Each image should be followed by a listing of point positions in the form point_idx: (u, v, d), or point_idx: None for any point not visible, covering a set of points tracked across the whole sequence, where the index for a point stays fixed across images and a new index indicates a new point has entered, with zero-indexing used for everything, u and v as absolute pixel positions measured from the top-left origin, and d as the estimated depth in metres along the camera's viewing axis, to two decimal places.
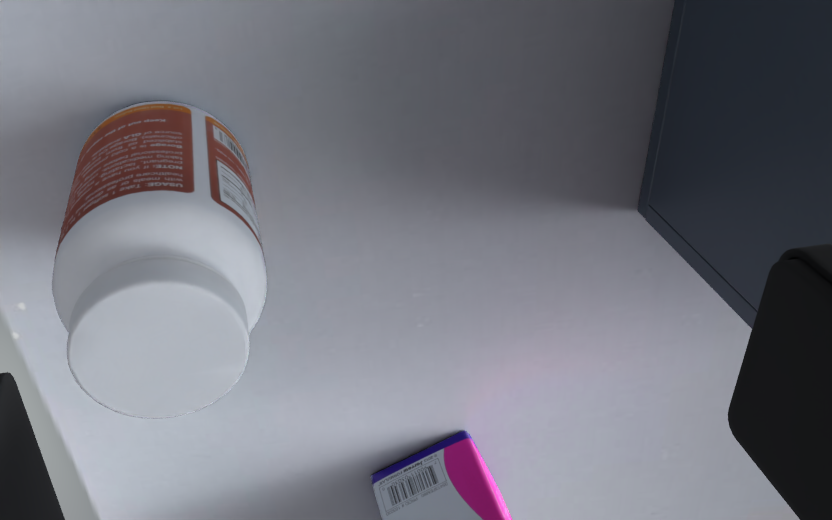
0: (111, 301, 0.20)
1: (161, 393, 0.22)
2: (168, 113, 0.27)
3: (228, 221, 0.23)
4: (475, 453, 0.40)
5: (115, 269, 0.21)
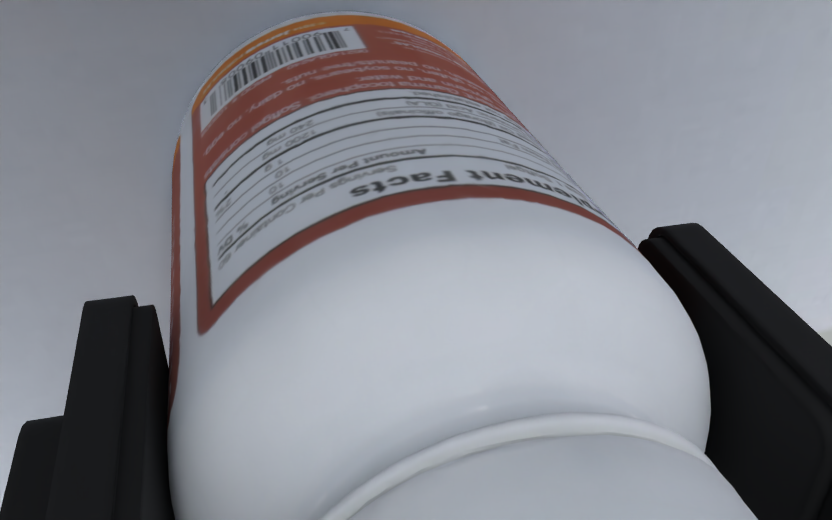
0: None
1: None
2: (172, 193, 0.13)
3: (237, 344, 0.07)
4: None
5: None
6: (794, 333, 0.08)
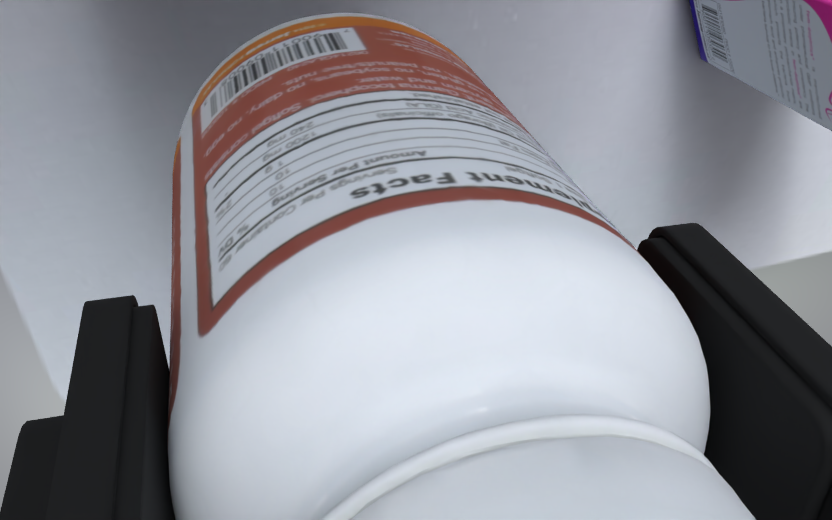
0: None
1: None
2: None
3: (237, 346, 0.07)
4: None
5: None
6: (794, 333, 0.08)
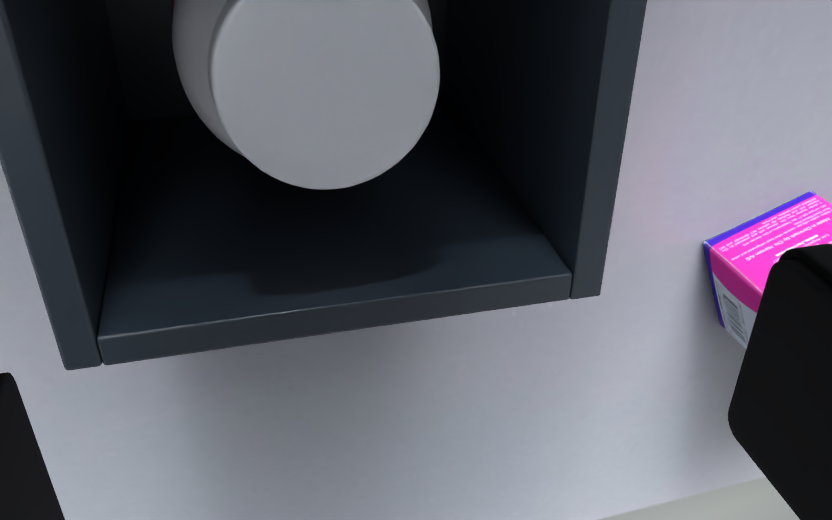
0: (246, 144, 0.16)
1: (395, 80, 0.16)
2: None
3: None
4: (723, 259, 0.35)
5: None
6: None
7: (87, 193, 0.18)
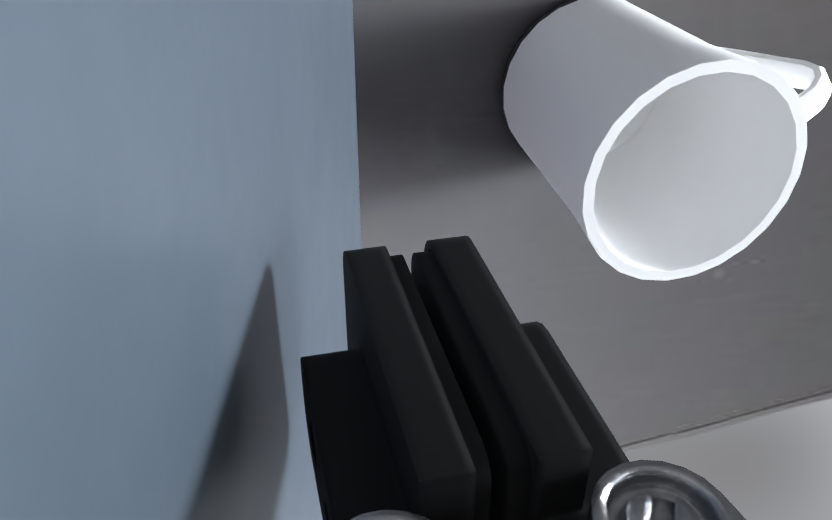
0: None
1: None
2: None
3: None
4: None
5: None
6: (512, 353, 0.08)
7: None
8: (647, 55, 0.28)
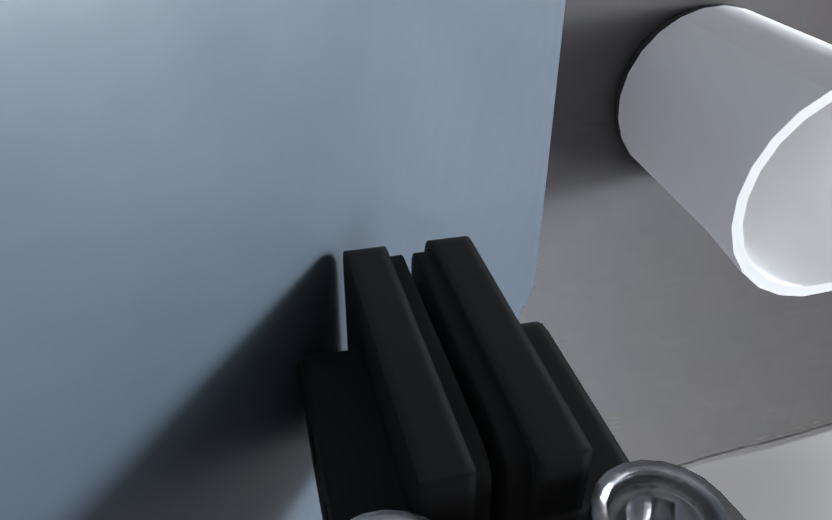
0: None
1: None
2: None
3: None
4: None
5: None
6: (513, 353, 0.08)
7: None
8: (799, 67, 0.28)
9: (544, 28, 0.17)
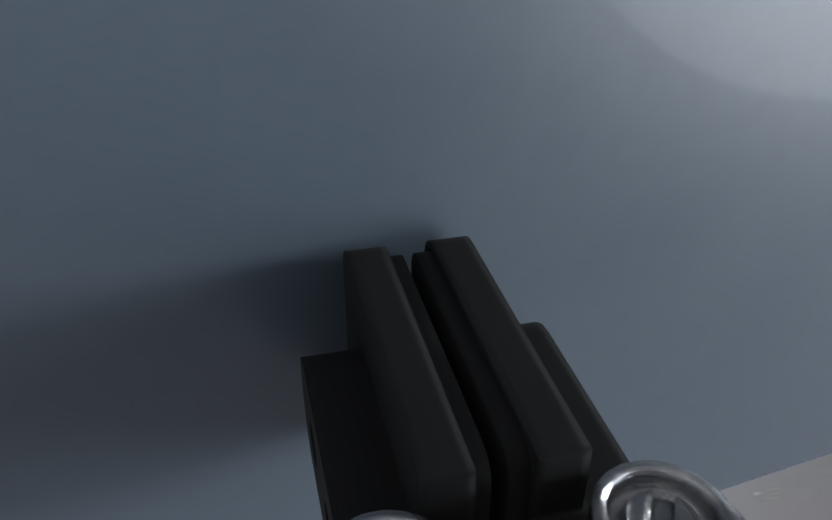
0: None
1: None
2: None
3: None
4: None
5: None
6: (513, 353, 0.08)
7: None
8: None
9: None
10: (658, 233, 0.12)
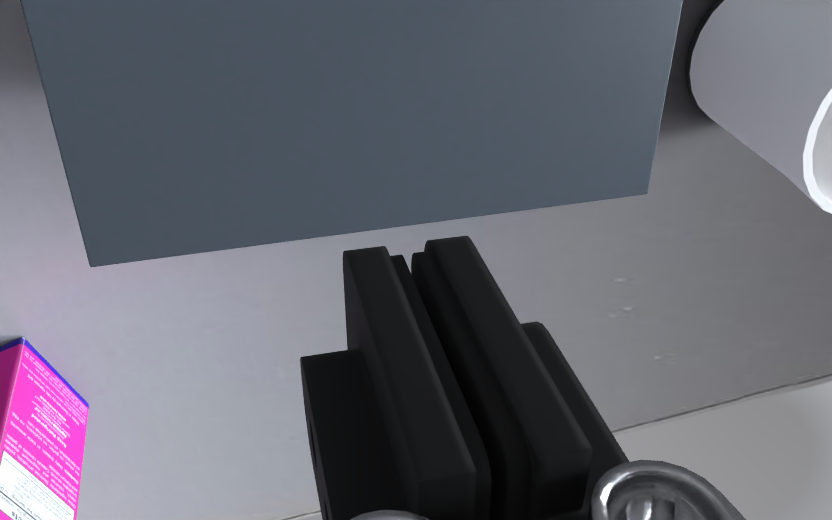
0: None
1: None
2: None
3: None
4: (19, 357, 0.39)
5: None
6: (513, 354, 0.08)
7: None
8: None
9: None
10: (446, 10, 0.22)
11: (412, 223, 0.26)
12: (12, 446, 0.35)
